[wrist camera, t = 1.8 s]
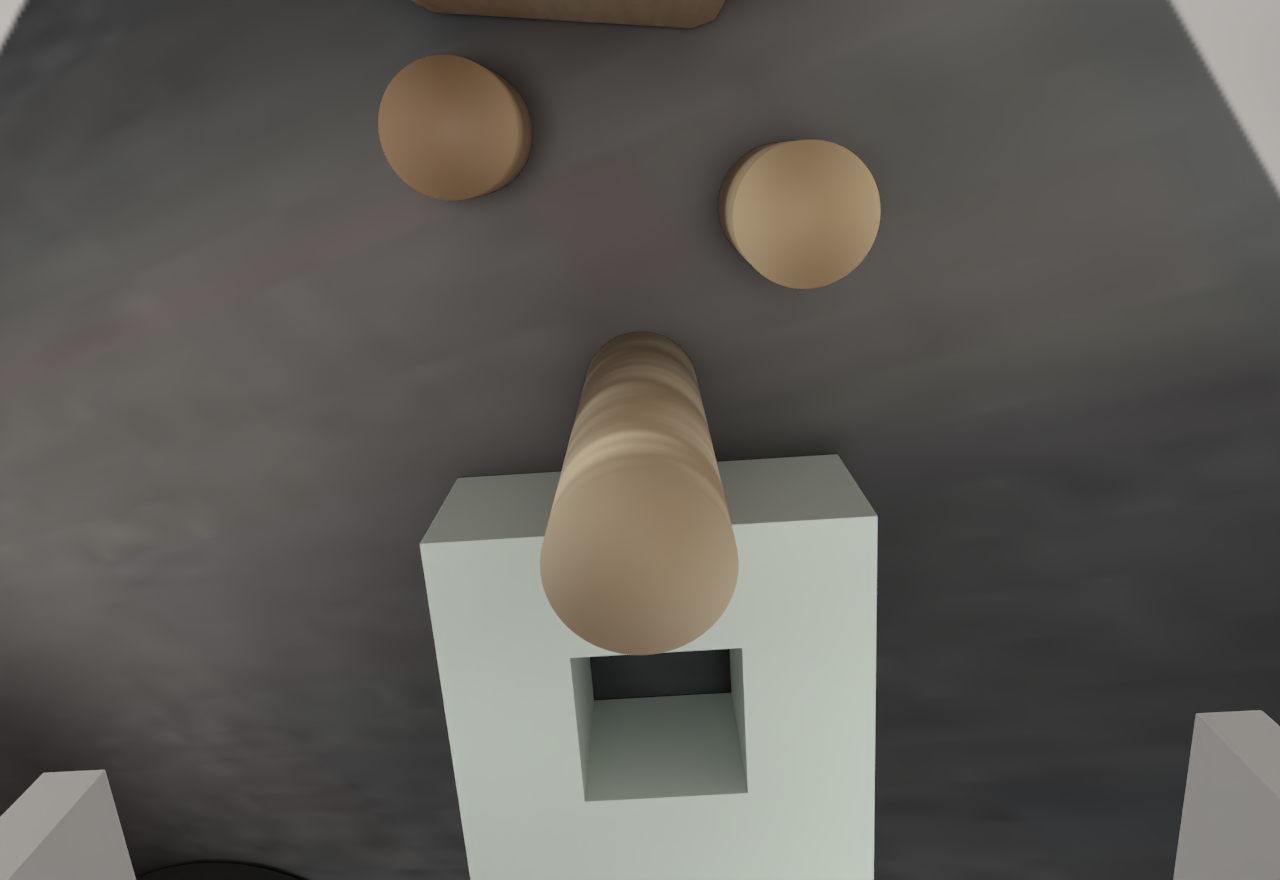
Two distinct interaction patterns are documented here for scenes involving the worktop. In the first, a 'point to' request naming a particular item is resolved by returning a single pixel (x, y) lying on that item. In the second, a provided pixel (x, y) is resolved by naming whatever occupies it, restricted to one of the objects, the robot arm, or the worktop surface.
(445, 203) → the worktop surface
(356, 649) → the worktop surface
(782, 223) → the dowel mid
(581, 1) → the wooden block
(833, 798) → the socket block
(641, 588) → the dowel long
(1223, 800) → the robot arm
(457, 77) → the dowel short
